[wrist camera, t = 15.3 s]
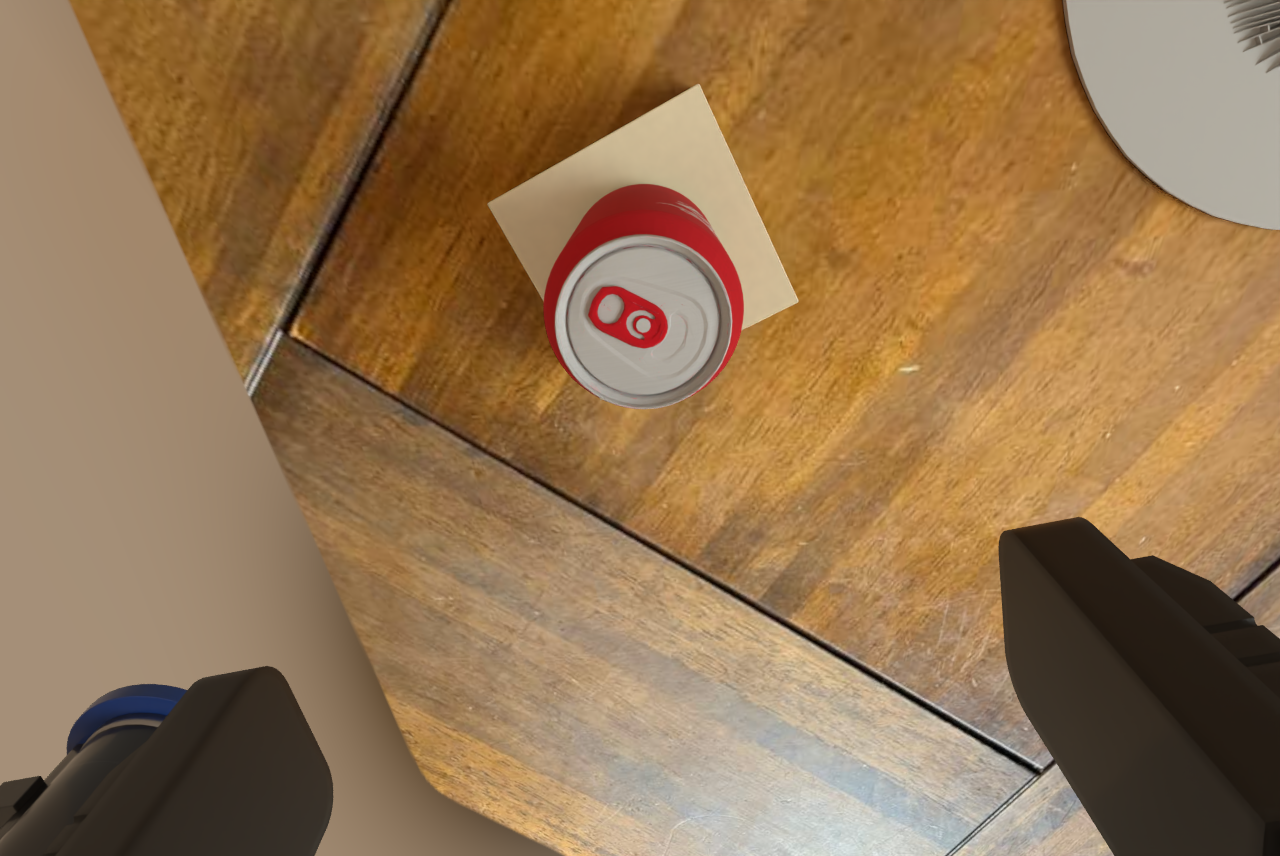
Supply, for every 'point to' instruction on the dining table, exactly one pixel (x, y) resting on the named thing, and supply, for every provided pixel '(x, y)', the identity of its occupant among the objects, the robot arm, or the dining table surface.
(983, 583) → the dining table surface
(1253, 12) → the plate
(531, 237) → the block
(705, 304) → the beverage can
